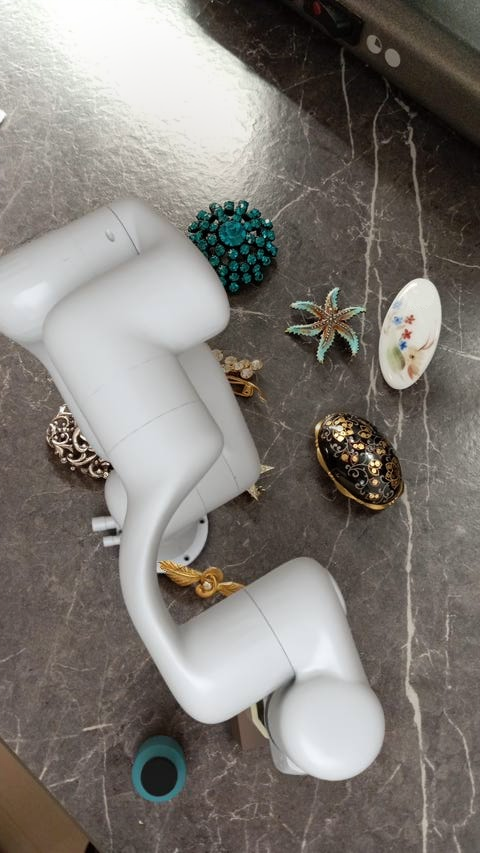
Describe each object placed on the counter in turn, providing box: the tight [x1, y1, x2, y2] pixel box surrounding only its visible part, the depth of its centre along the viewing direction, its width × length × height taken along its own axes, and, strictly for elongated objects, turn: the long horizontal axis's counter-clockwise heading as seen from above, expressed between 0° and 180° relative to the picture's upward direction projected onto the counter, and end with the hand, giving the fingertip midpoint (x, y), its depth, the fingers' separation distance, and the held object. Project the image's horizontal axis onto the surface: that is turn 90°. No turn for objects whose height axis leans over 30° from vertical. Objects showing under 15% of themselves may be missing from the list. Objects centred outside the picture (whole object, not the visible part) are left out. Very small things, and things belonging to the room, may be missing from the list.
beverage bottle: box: [131, 734, 188, 803], centre depth 108 cm, size 6×7×20 cm
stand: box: [228, 710, 270, 751], centre depth 110 cm, size 9×9×21 cm
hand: (285, 705), depth 91 cm, fingers closed
